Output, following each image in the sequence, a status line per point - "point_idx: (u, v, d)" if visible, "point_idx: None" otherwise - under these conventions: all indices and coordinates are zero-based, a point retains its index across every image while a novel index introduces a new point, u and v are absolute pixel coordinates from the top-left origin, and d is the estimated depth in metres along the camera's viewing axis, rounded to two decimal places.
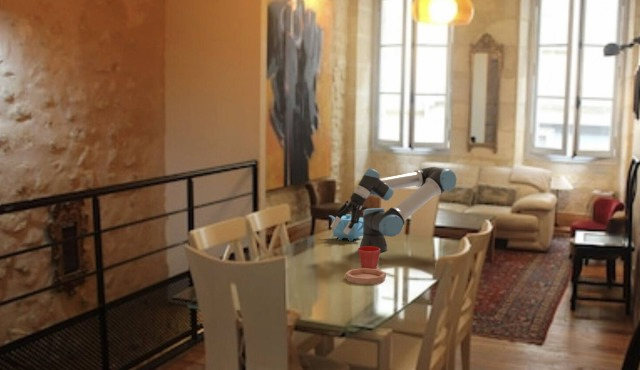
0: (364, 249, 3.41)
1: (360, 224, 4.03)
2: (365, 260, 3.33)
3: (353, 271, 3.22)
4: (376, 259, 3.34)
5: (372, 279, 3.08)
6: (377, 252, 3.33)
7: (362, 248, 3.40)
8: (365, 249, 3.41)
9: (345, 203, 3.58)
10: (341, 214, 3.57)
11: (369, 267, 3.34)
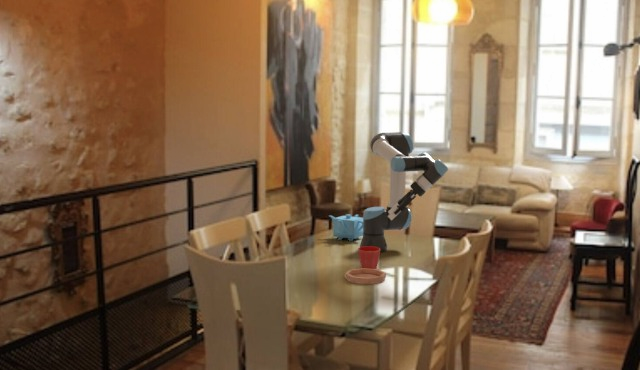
0: (364, 249, 3.41)
1: (360, 224, 4.03)
2: (365, 260, 3.33)
3: (353, 271, 3.22)
4: (376, 259, 3.34)
5: (372, 279, 3.08)
6: (377, 252, 3.33)
7: (362, 248, 3.40)
8: (365, 249, 3.41)
9: None
10: None
11: (369, 267, 3.34)
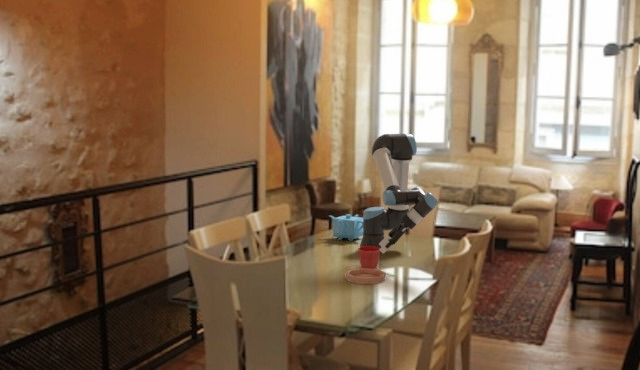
0: (364, 249, 3.41)
1: (360, 224, 4.03)
2: (365, 260, 3.33)
3: (353, 271, 3.22)
4: (376, 259, 3.34)
5: (372, 279, 3.08)
6: (377, 252, 3.33)
7: (362, 248, 3.40)
8: (365, 249, 3.41)
9: (404, 232, 3.26)
10: None
11: (369, 267, 3.34)
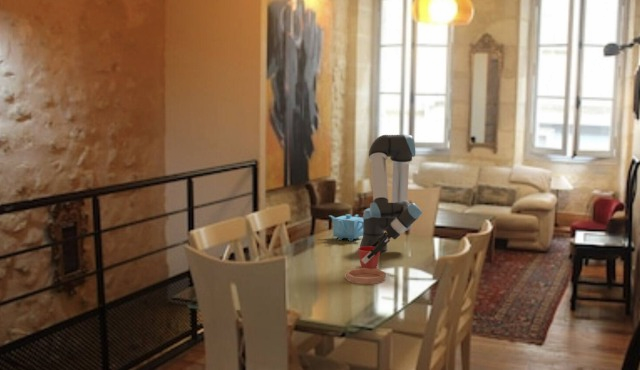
0: (364, 249, 3.41)
1: (360, 224, 4.03)
2: None
3: (353, 271, 3.22)
4: (376, 259, 3.34)
5: (372, 279, 3.08)
6: None
7: (362, 248, 3.40)
8: (365, 249, 3.41)
9: (386, 243, 3.29)
10: None
11: (369, 267, 3.34)
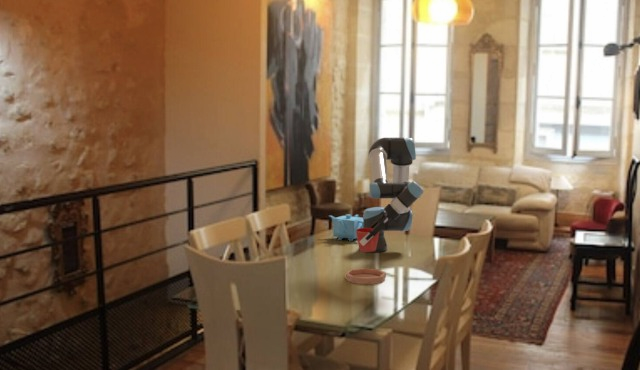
0: (362, 231, 3.23)
1: (360, 224, 4.03)
2: None
3: (353, 271, 3.22)
4: (375, 241, 3.16)
5: (372, 279, 3.08)
6: None
7: (360, 230, 3.22)
8: (363, 231, 3.23)
9: (386, 223, 3.11)
10: None
11: (368, 249, 3.16)
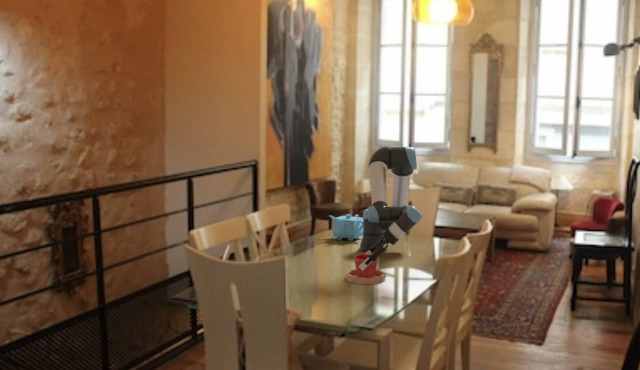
0: (361, 257, 3.19)
1: (360, 224, 4.03)
2: None
3: (353, 271, 3.22)
4: (373, 268, 3.13)
5: (372, 279, 3.08)
6: (374, 261, 3.12)
7: (358, 256, 3.19)
8: (362, 257, 3.20)
9: (385, 248, 3.07)
10: None
11: (366, 277, 3.12)
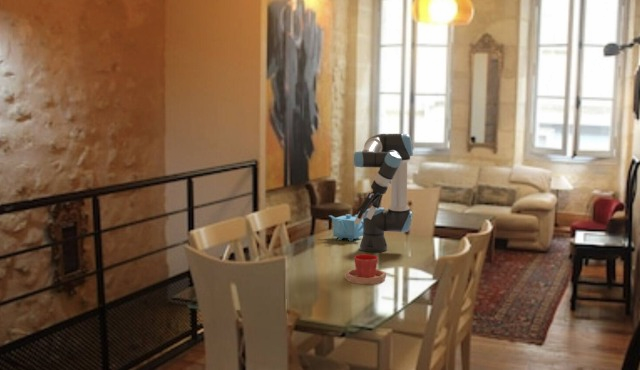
0: (361, 257, 3.19)
1: (360, 224, 4.03)
2: (362, 269, 3.12)
3: (353, 271, 3.22)
4: (373, 268, 3.13)
5: (372, 279, 3.08)
6: (374, 261, 3.12)
7: (358, 256, 3.19)
8: (362, 257, 3.20)
9: (372, 198, 3.16)
10: None
11: (366, 277, 3.12)
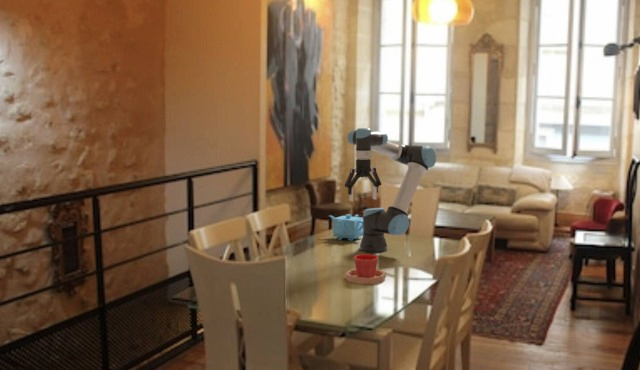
0: (361, 257, 3.19)
1: (360, 224, 4.03)
2: (362, 269, 3.12)
3: (353, 271, 3.22)
4: (373, 268, 3.13)
5: (372, 279, 3.08)
6: (374, 261, 3.12)
7: (358, 256, 3.19)
8: (362, 257, 3.20)
9: (353, 172, 3.42)
10: None
11: (366, 277, 3.12)
